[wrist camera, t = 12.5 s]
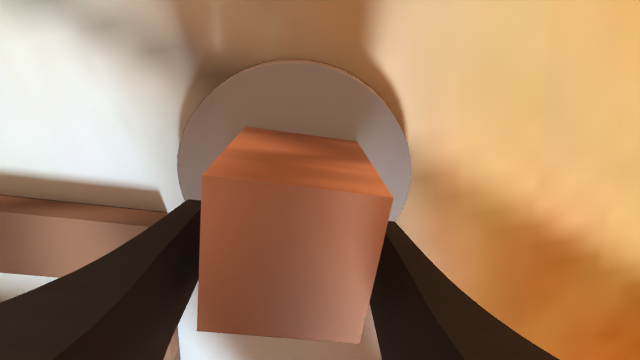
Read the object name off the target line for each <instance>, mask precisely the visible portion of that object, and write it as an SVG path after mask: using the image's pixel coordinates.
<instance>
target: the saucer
mask: <svg viewBox="0 0 640 360" xmlns="http://www.w3.org/2000/svg"><path fill="white" fill-rule="evenodd" d="M245 127H253V128H261V129H268V130H276V131H283V132H291V133H298V134H306V135H313V136H321V137H328V138H336V139H343V140H351V141H357V142H358V144H359V145H360V147H361V148H362V150H363V151H364V153H365V154H366V156H367V157H368V159H369V160H370V162H371V164H372V165H373V167H374V168H375V170H376V171H377V173H378V174H379V176H380V177H381V179H382V180H383V182H384V184H385V185H386V187H387V188H388V190H389V191H390V193H391V194H392V196H393V197H394V199H393V203H392V207H391V211H390V216H389V220H388V221H394V222H395V221H396V219H397V218H398V216H399V214H400V212H401V210H402V209H403V206H404V204H405V201H406V198H407V195H408V191H409V187H410V180H411V157H410V153H409V148H408V143H407V141H406V138H405V135H404V133H403V130H402V128H401V126H400V125H399V123H398V121H397V119H396V118H395V116H394V114H393V113H392V111H391V110H390V109H389V107H388V106H387V105H386V103H385V102H384V101H383V100H382V98H381V97H380V96H379V95H378V94H377V93H376V92H375V91H374V90H373V89H372V88H371V87H370V86H368V85H367V84H365V83H364V82H363V81H361V80H360V79H359V78H357V77H355V76H353V75H352V74H350V73H348V72H346V71H344V70H342V69H339V68H337V67H334V66H331V65H328V64H325V63H320V62H315V61H311V60H298V59H288V60H275V61H270V62H265V63H260V64H258V65H255V66H252V67H249V68H246V69H244V70H242V71H240V72H238V73H236V74H234V75H233V76H231V77H229V78H228V79H227V80H225V81H224V82H223V83H221V84H220V85H218V86H217V87H216V88H215V89H214V90H213V91H212V92H211V93H210V94H209V95H208V96H207V97H206V98H205V99H204V100H203V101H202V102H201V103H200V104H199V106H198V107H197V109H196V110H195V111H194V113H193V114H192V115H191V117H190V119H189V121H188V123H187V125H186V127H185V129H184V132H183V135H182V138H181V141H180V145H179V151H178V164H177V171H178V178H179V184H180V188H181V191H182V194H183V197H184V200H185V201H187V200H188V199H192V200H201V190H202V174H203V173H204V172H205V171H206V170H207V169H208V167H209V166H210V165H211V164H212V163H213V162H214V161H215V160H216V159H217V158H218V156H219V155H220V154H221V153H222V152H223V151H224V150H225V149H226V148H227V146H228V145H229V144H230V143H231V142H232V141H233V140H234V139H235V138H236V136H237V135H238V134H239V133H240V132H241V131H242V130H243V129H244V128H245Z"/></svg>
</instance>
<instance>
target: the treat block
mask: <svg viewBox="0 0 640 360" xmlns="http://www.w3.org/2000/svg"><path fill="white" fill-rule="evenodd" d="M393 199H394V197H393V196H392V194H391V193H390V191H389V190H388V188H387V187H386V185H385V184H384V182H383V180H382V179H381V177H380V176H379V174H378V173H377V171H376V170H375V168H374V167H373V165H372V164H371V162H370V160H369V159H368V157H367V156H366V154H365V153H364V151H363V150H362V148H361V147H360V145H359V144H358V142H357V141H351V140H343V139H336V138H328V137H321V136H313V135H306V134H298V133H291V132H283V131H276V130H268V129H261V128H253V127H245V128H244V129H243V130H242V131H241V132H240V133H239V134H238V135H237V136H236V138H235V139H234V140H233V141H232V142H231V143H230V144H229V145H228V146H227V148H226V149H225V150H224V151H223V152H222V153H221V154H220V155H219V156H218V158H217V159H216V160H215V161H214V162H213V163H212V164H211V165H210V166H209V167H208V169H207V170H206V171H205V172H204V173H203V174H202V190H201V222H200V254H199V285H198V317H197V331H205V332H217V333H229V334H242V335H254V336H267V337H279V338H292V339H304V340H317V341H329V342H342V343H354V344H360V340H361V336H362V332H363V327H364V323H365V319H366V314H367V310H368V306H369V302H370V297H371V293H372V289H373V284H374V280H375V276H376V272H377V267H378V263H379V259H380V254H381V250H382V246H383V242H384V237H385V233H386V229H387V224H388V220H389V216H390V211H391V207H392V203H393Z"/></svg>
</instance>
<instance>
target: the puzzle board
mask: <svg viewBox="0 0 640 360" xmlns="http://www.w3.org/2000/svg"><path fill="white" fill-rule="evenodd" d="M166 215H167V213H165V212H156V211H146V210H137V209H127V208H118V207H108V206H98V205H89V204H79V203H70V202H60V201H51V200H41V199H32V198H22V197H13V196H3V195H0V272H1V273H12V274H24V275H35V276H47V277H58V278H61V277H63V276H65V275H67V274H69V273H72V272H74V271H76V270H78V269H80V268H82V267H84V266H86V265H87V264H89V263H91V262H93V261H95V260H97V259H99V258H101V257H102V256H104V255H106V254H108V253H110V252H111V251H113V250H115V249H116V248H118V247H120V246H121V245H123V244H124V243H126V242H127V241H129V240H131V239H132V238H134V237H135V236H137V235H139V234H140V233H142V232H143V231H145V230H146V229H147V228H149V227H150V226H152V225H153V224H155V223H156V222H158V221H159V220H160V219H162V218H163V217H164V216H166ZM164 360H180V351H179V340H178V328H176V330H175V332H174V334H173V336H172V339H171V341H170V344H169V346H168V349H167V351H166V354H165V357H164Z"/></svg>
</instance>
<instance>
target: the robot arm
mask: <svg viewBox="0 0 640 360" xmlns="http://www.w3.org/2000/svg"><path fill="white" fill-rule="evenodd" d="M200 222H201V200H192V199H188V200H187V201H185V202H184V203H182V204H181V205H180V206H178V207H177V208H175V209H174V210H173V211H171V212H170V213H169V214H167V215H166V216H164V217H163V218H162V219H160V220H159V221H158V222H156V223H155V224H153V225H152V226H150V227H149V228H147V229H146V230H145V231H143V232H142V233H140V234H139V235H137V236H135V237H134V238H132V239H131V240H129V241H127V242H126V243H124V244H123V245H121V246H120V247H118V248H116V249H115V250H113V251H111V252H110V253H108V254H106V255H104V256H102V257H101V258H99V259H97V260H95V261H93V262H91V263H89V264H87V265H86V266H84V267H82V268H80V269H78V270H76V271H74V272H72V273H69V274H67V275H65V276H63V277H61V278H58V279H56V280H54V281H52V282H49V283H47V284H45V285H43V286H41V287H38V288H36V289H34V290H31V291H29V292H27V293H24V294H22V295H19V296H17V297H14V298H12V299H9V300H7V301H4V302H1V303H0V360H164V357H165V354H166V351H167V349H168V346H169V344H170V341H171V339H172V336H173V334H174V332H175V330H176V328H177V325H178V323H179V321H180V319H181V317H182V315H183V312H184V310H185V308H186V306H187V304H188V302H189V299H190V297H191V295H192V293H193V291H194V288H195V286H196V284H197V282H198V279H199V254H200ZM370 307H371V311H372V316H373V320H374V325H375V329H376V334H377V338H378V343H379V347H380V351H381V357H382V360H559V359H557V358H556V357H554V356H552V355H551V354H549V353H548V352H546V351H544V350H543V349H541V348H539V347H538V346H536V345H535V344H533V343H531V342H530V341H528V340H527V339H525V338H524V337H522V336H521V335H519V334H518V333H516V332H515V331H513V330H512V329H511V328H509V327H508V326H506V325H505V324H504V323H502V322H501V321H499V320H498V319H497V318H495V317H494V316H492V315H491V314H490V313H488V312H487V311H486V310H485V309H483V308H482V307H481V306H480V305H478V304H477V303H476V302H475V301H473V300H472V299H471V298H470V297H469V296H467V295H466V294H465V293H464V292H463V291H461V290H460V289H459V288H458V287H457V286H456V285H455V284H454V283H453V282H452V281H450V280H449V279H448V278H447V277H446V276H445V275H444V274H443V273H442V272H441V271H440V270H439V269H438V268H437V267H436V266H435V265H434V264H433V263H432V262H431V261H430V260H429V259H428V258H427V257H426V256H425V255H424V253H423V252H422V251H421V250H420V249H419V248H418V247H417V246H416V245H415V244H414V242H413V241H412V240H411V239H410V238H409V237H408V236H407V235H406V234H405V232H404V231H403V230H402V229H401V228H400V227H399V226H398V225H397V224H396V223H395V222H394V221H388V224H387V229H386V233H385V237H384V242H383V246H382V250H381V254H380V259H379V263H378V267H377V272H376V276H375V280H374V284H373V289H372V293H371V297H370Z"/></svg>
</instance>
